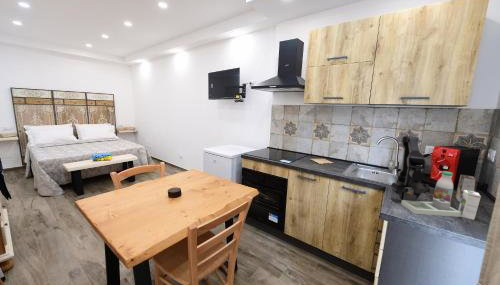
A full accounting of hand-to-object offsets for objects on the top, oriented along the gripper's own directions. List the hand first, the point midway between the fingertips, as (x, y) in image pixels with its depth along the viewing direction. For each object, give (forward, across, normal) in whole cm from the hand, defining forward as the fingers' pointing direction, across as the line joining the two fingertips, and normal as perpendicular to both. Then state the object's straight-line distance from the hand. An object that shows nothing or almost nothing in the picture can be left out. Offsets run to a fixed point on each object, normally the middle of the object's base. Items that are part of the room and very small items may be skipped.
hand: (407, 200), depth 123 cm
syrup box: (+2, +21, -14) cm, 25 cm away
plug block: (+2, 0, 0) cm, 2 cm away
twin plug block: (0, +10, -10) cm, 14 cm away
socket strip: (+2, +5, -10) cm, 11 cm away
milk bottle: (+2, +22, +3) cm, 22 cm away
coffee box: (+2, +41, +9) cm, 42 cm away
